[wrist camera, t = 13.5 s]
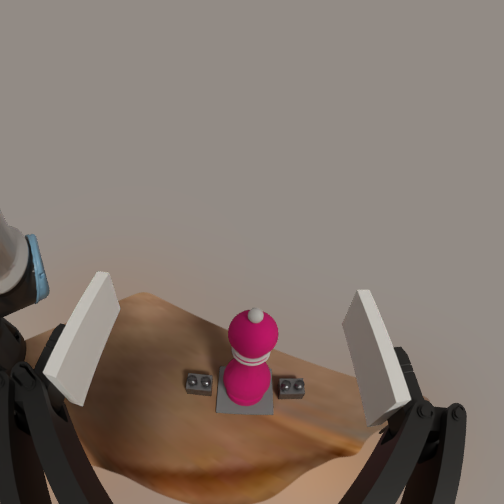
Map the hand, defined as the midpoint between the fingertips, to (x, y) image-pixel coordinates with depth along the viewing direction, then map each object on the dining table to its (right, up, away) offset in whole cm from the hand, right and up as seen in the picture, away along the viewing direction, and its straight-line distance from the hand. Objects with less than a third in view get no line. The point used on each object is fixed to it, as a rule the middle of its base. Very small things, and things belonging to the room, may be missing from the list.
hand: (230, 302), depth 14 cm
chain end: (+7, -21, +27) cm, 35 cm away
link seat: (0, -20, +27) cm, 34 cm away
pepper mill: (0, -20, +27) cm, 34 cm away
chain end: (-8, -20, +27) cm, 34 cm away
